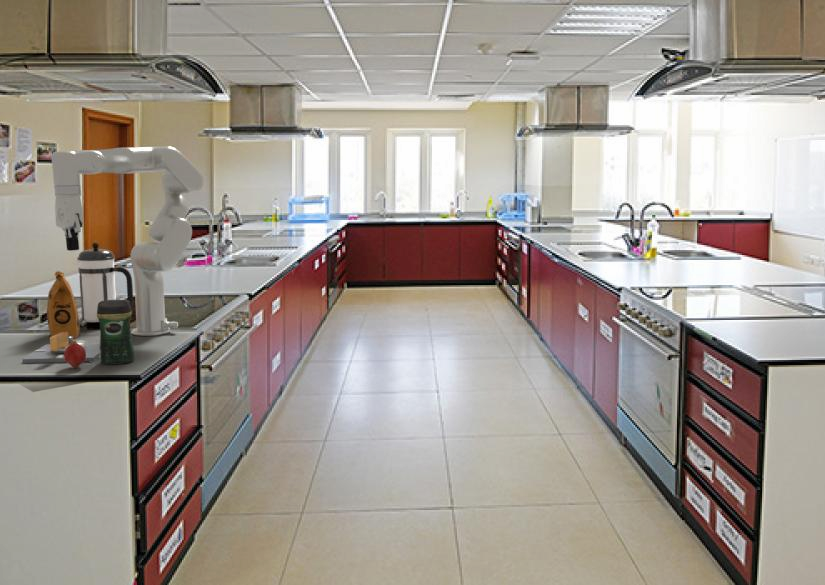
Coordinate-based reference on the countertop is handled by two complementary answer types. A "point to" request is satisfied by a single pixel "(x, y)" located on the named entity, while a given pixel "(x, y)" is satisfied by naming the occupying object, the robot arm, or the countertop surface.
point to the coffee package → (62, 308)
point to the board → (47, 356)
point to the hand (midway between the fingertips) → (73, 249)
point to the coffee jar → (115, 332)
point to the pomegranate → (75, 354)
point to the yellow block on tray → (63, 342)
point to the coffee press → (98, 280)
